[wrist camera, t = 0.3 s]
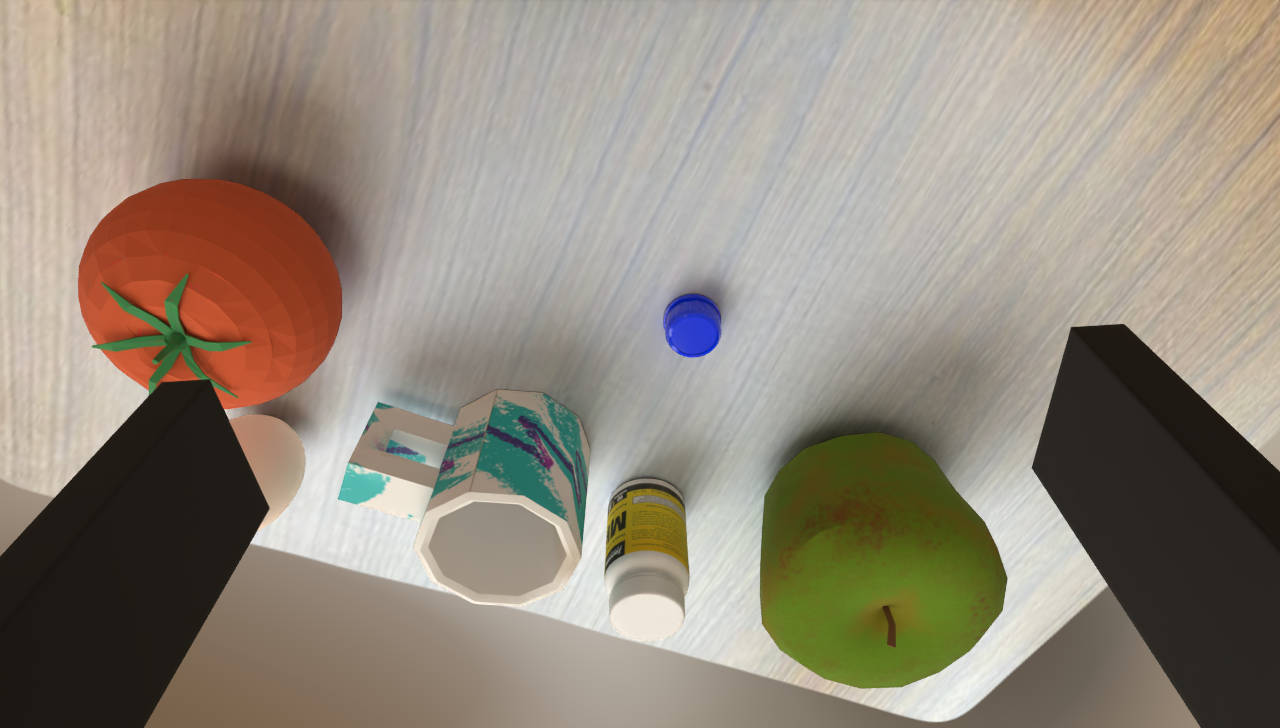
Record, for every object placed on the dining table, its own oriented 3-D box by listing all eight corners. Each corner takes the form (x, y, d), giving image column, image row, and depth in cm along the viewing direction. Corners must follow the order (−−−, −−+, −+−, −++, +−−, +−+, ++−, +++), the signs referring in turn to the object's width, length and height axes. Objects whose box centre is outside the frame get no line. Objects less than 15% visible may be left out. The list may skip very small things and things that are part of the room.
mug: (559, 512, 47) (545, 625, 40) (366, 453, 44) (314, 563, 37) (608, 414, 43) (602, 521, 36) (398, 344, 40) (347, 444, 33)
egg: (314, 477, 45) (259, 581, 39) (219, 449, 44) (145, 552, 38) (331, 408, 43) (274, 508, 36) (230, 377, 41) (151, 474, 35)
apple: (933, 551, 49) (1003, 715, 39) (743, 562, 49) (768, 726, 40) (962, 393, 42) (1056, 545, 33) (741, 408, 43) (770, 562, 33)
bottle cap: (676, 352, 40) (678, 369, 39) (653, 307, 39) (654, 323, 38) (729, 331, 40) (732, 348, 38) (707, 285, 38) (710, 301, 37)
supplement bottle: (615, 470, 45) (610, 581, 38) (692, 481, 46) (702, 593, 38) (602, 527, 48) (595, 641, 41) (675, 537, 48) (681, 651, 41)
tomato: (398, 213, 36) (326, 317, 28) (334, 368, 41) (256, 496, 33) (176, 106, 33) (22, 185, 25) (136, 286, 38) (-5, 403, 30)
